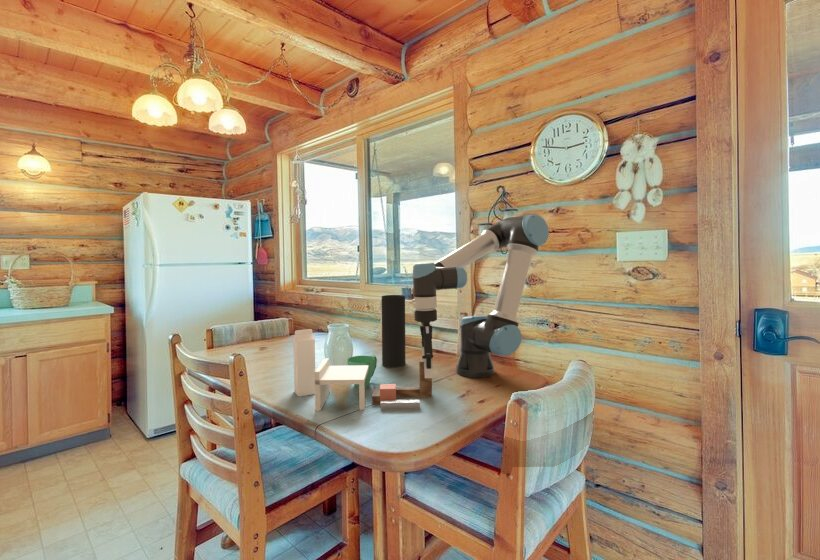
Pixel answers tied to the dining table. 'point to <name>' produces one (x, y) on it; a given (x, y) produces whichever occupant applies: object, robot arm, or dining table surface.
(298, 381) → the milk
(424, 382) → the wooden l-shaped bracket
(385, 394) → the block
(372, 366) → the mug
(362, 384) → the shelf riser
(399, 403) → the straight bar
